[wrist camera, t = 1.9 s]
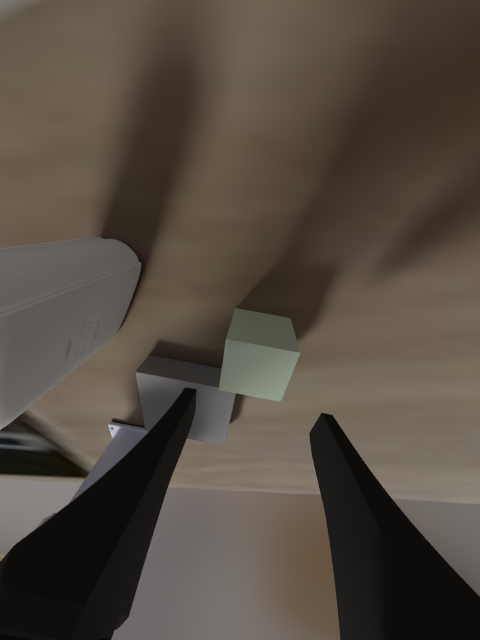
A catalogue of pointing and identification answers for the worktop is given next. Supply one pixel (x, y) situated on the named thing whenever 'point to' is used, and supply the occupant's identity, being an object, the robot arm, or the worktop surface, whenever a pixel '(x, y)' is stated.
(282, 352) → the green cube
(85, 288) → the photo printer
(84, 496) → the robot arm
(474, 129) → the worktop surface
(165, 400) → the grey block
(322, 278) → the worktop surface
